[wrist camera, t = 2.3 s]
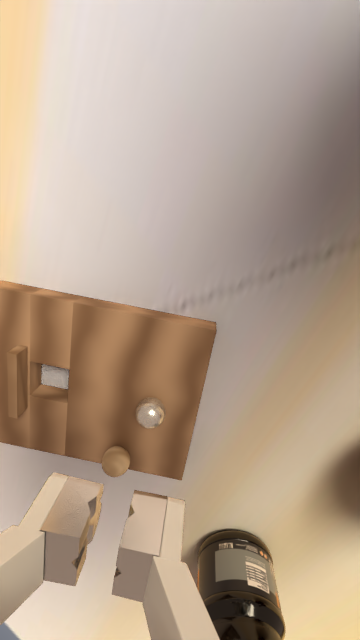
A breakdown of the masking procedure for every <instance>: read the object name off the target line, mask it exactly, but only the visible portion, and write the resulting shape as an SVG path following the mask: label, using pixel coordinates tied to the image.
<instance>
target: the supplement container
mask: <svg viewBox="0 0 360 640" xmlns="http://www.w3.org/2000/svg"><path fill="white" fill-rule="evenodd" d="M197 589H198V591H199V593H200V596H201V598H202V600H203V603H204V605H205V607H206V609H207V612H208V614H209V616H210V618H211V621H212V623H213V625H214V628H215V630H216V632H217V634H218V637H219V639H220V640H284V637H285V622H284V618H283V616H282V612H281V607H280V602H279V596H278V591H277V586H276V580H275V575H274V570H273V561H272V557H271V554H270V552H269V550H268V548H267V546H266V545H265V544H264V543H263V542H262V541H261V540H260V539H258V538H257V537H255V536H253V535H251V534H249V533H246V532H242V531H235V530H229V531H222V532H218V533H216V534H213V535H212V536H210V537H208V538H207V539H206V540H205V541H204V542H203V543H202V545H201V547H200V549H199V552H198V581H197Z"/></svg>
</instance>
